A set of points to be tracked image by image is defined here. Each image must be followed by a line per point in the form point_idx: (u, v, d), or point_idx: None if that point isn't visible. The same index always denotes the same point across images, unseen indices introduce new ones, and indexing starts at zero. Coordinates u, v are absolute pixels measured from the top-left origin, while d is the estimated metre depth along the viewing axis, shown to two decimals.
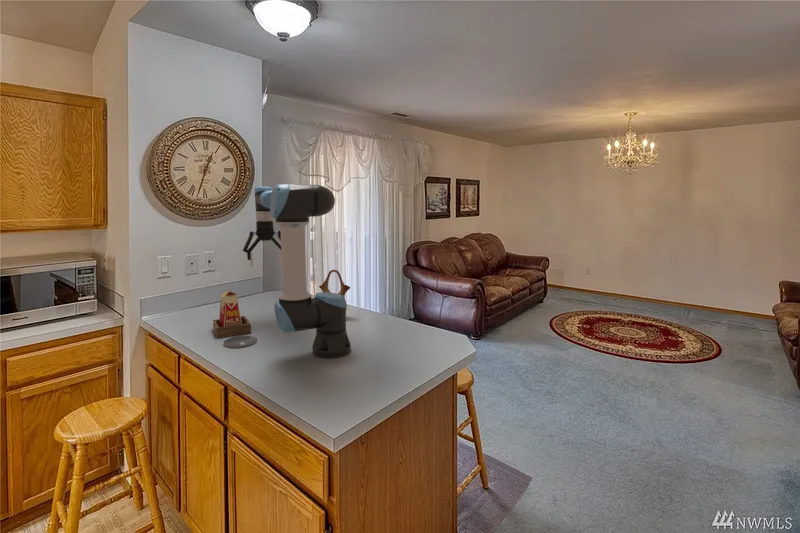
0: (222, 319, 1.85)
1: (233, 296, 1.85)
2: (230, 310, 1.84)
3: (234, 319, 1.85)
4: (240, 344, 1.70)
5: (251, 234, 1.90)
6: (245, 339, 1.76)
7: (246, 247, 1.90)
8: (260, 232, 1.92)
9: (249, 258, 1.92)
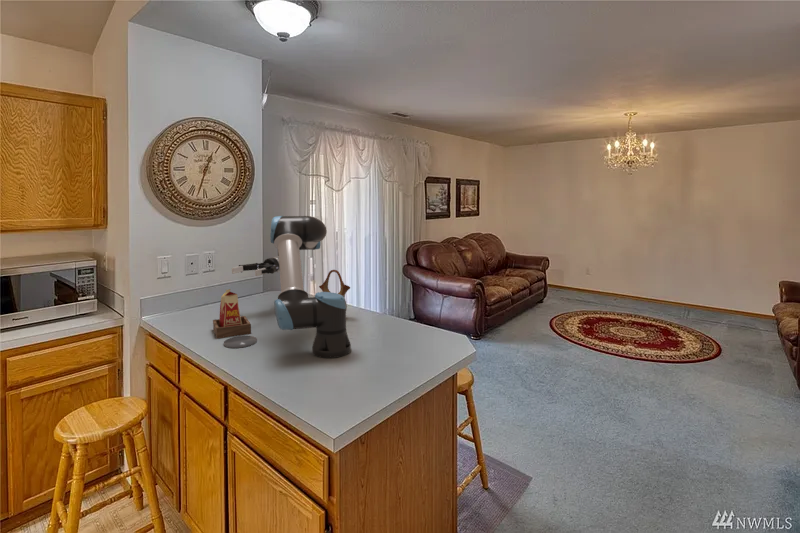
0: (222, 319, 1.85)
1: (233, 296, 1.86)
2: (230, 310, 1.85)
3: (234, 319, 1.85)
4: (240, 344, 1.70)
5: (255, 263, 2.09)
6: (245, 339, 1.76)
7: None
8: None
9: None
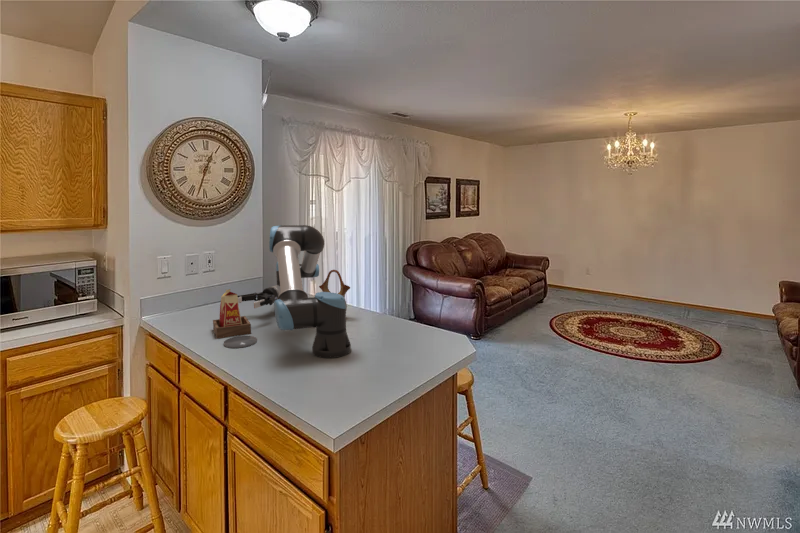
0: (222, 319, 1.85)
1: (233, 296, 1.86)
2: (230, 310, 1.85)
3: (234, 319, 1.85)
4: (240, 344, 1.70)
5: (254, 293, 2.10)
6: (245, 339, 1.76)
7: (241, 295, 2.06)
8: None
9: None
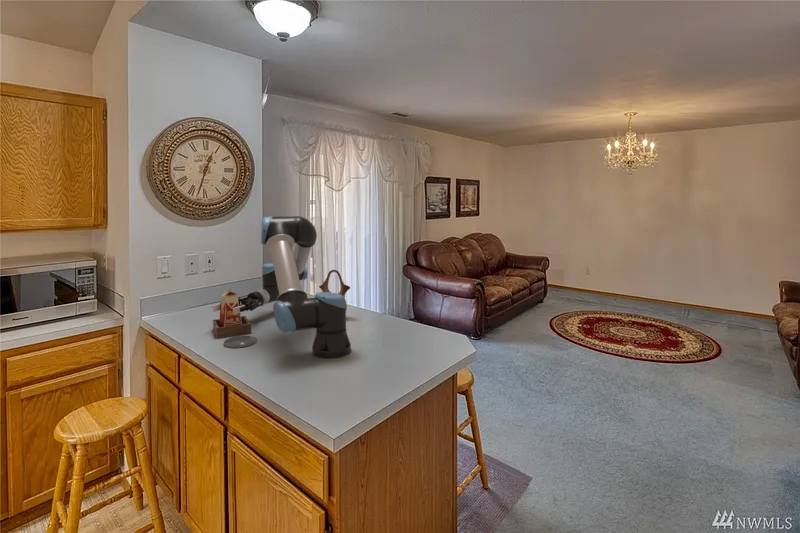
0: (222, 319, 1.85)
1: (233, 296, 1.86)
2: (231, 310, 1.84)
3: (234, 319, 1.85)
4: (240, 344, 1.70)
5: None
6: (245, 339, 1.76)
7: None
8: None
9: None
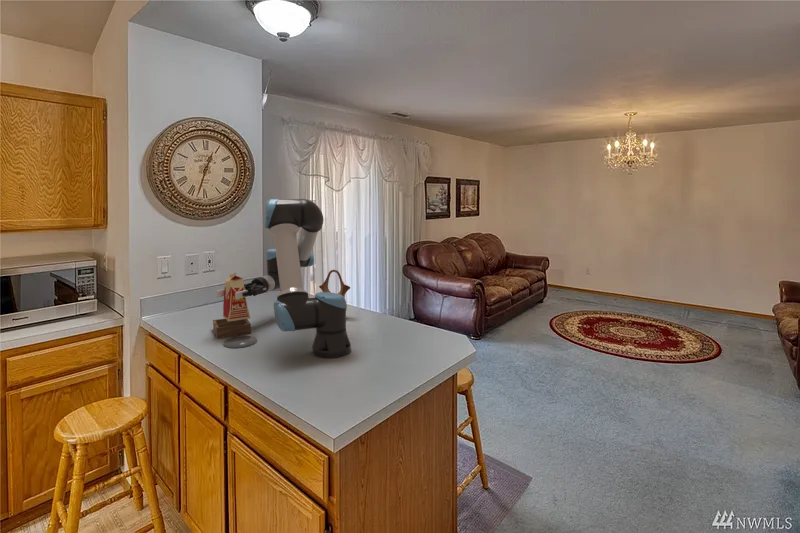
0: (227, 305, 1.76)
1: (238, 280, 1.77)
2: None
3: (240, 304, 1.76)
4: (240, 344, 1.70)
5: None
6: (245, 339, 1.76)
7: None
8: None
9: None
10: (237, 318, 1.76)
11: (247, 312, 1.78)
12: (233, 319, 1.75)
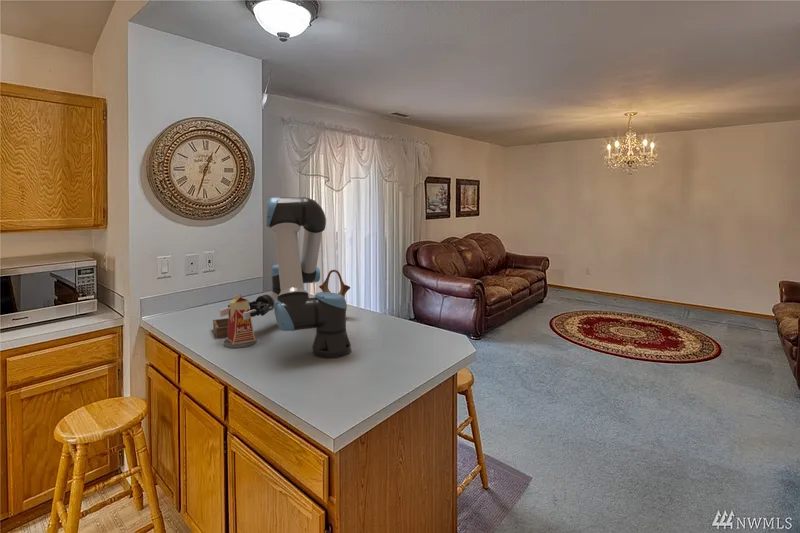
0: (232, 327, 1.70)
1: (244, 302, 1.71)
2: (241, 318, 1.70)
3: (245, 327, 1.71)
4: (240, 344, 1.70)
5: None
6: None
7: None
8: None
9: None
10: (242, 341, 1.71)
11: (252, 335, 1.73)
12: (238, 342, 1.70)
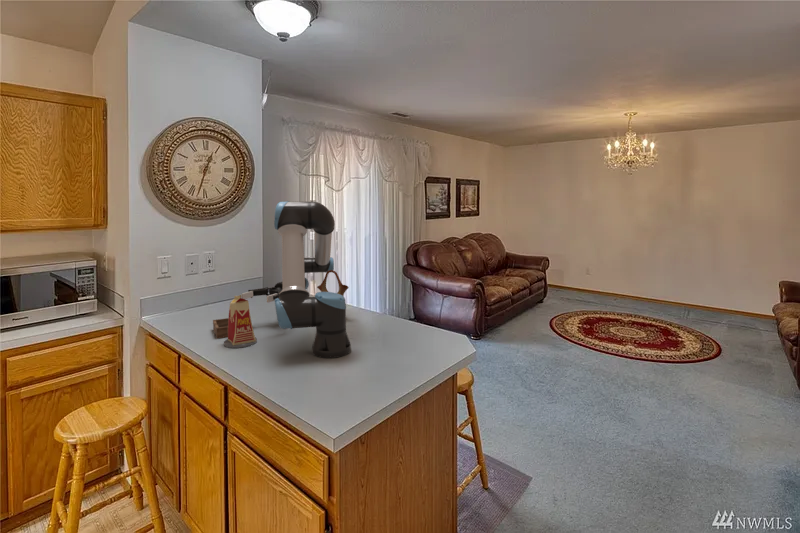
0: (232, 328, 1.70)
1: (244, 303, 1.71)
2: (241, 318, 1.70)
3: (245, 327, 1.71)
4: (240, 344, 1.70)
5: None
6: None
7: (253, 289, 1.93)
8: None
9: None
10: (242, 341, 1.71)
11: (252, 335, 1.73)
12: (238, 343, 1.70)
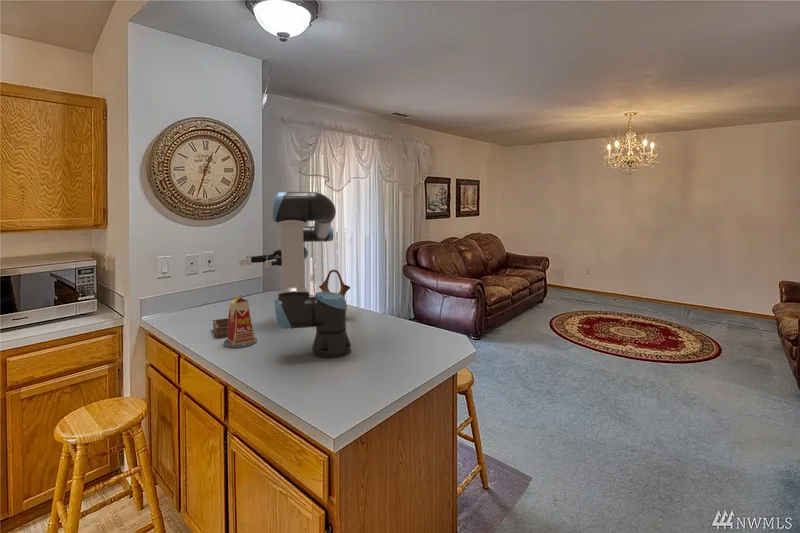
0: (232, 328, 1.70)
1: (244, 303, 1.71)
2: (241, 318, 1.70)
3: (245, 327, 1.71)
4: (240, 344, 1.70)
5: (264, 255, 1.94)
6: None
7: (251, 256, 1.90)
8: None
9: None
10: (242, 341, 1.71)
11: (252, 335, 1.73)
12: (238, 343, 1.70)
